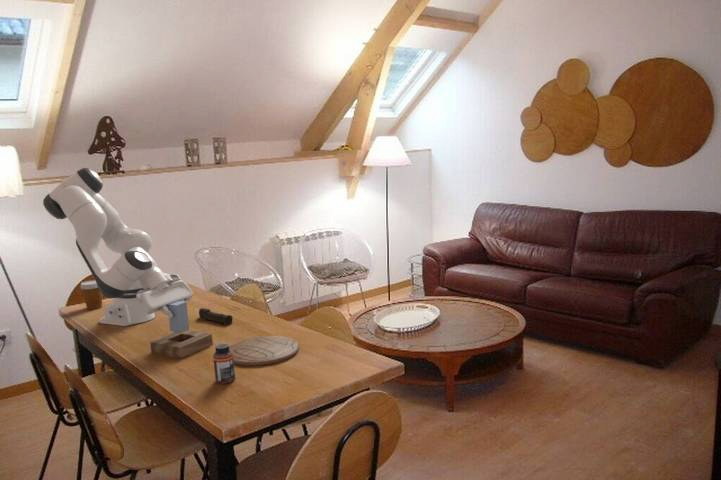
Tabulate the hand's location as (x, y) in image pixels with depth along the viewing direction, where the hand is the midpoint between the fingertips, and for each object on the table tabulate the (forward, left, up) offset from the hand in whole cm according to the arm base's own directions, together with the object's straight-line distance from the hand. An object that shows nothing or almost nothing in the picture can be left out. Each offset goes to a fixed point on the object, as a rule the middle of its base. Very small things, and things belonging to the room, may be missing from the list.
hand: (179, 314), depth 209 cm
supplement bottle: (+28, -24, -13) cm, 39 cm away
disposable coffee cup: (-72, +44, -13) cm, 85 cm away
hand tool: (-4, +31, -13) cm, 34 cm away
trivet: (+30, 0, -13) cm, 33 cm away
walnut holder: (-1, 0, -13) cm, 13 cm away
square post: (-1, 0, -6) cm, 6 cm away
